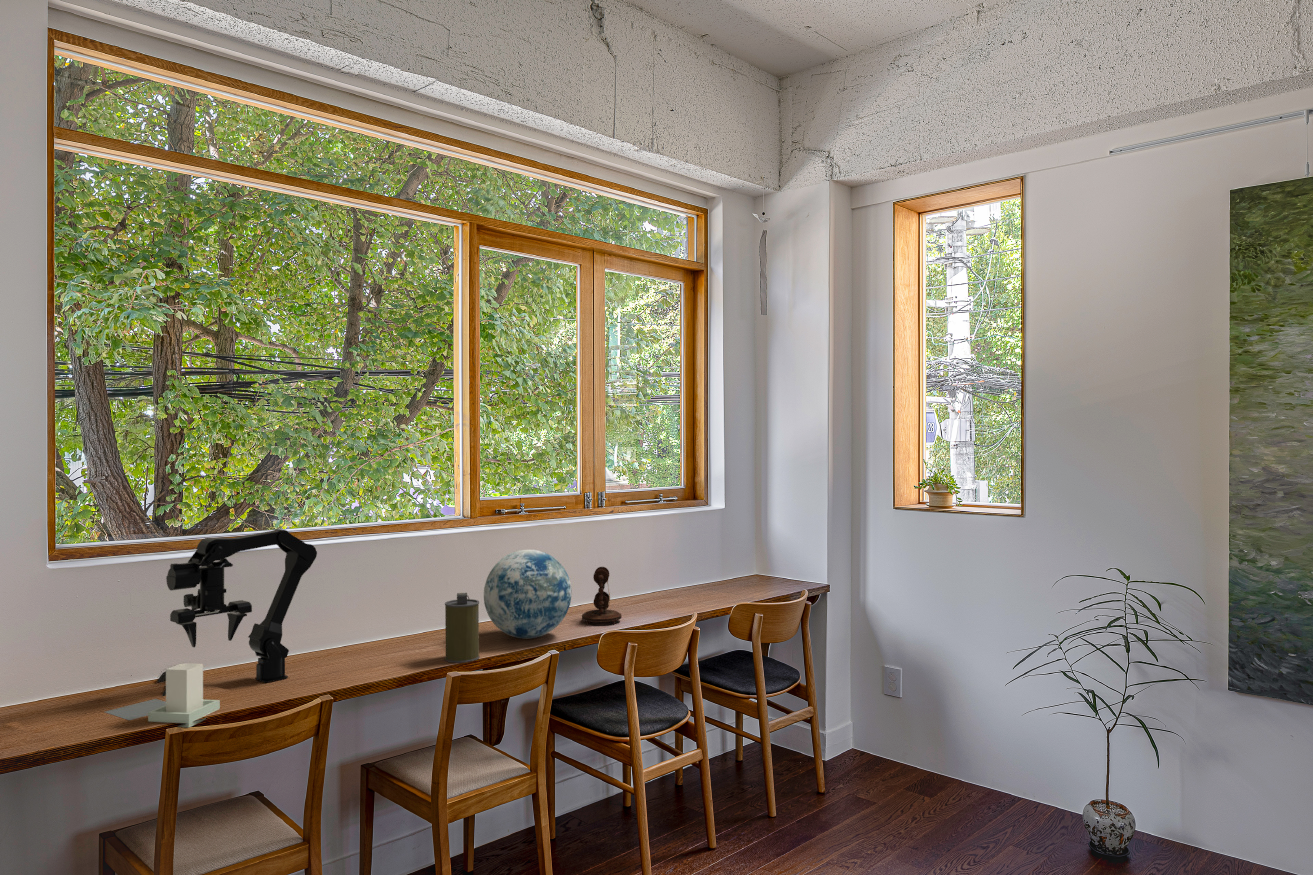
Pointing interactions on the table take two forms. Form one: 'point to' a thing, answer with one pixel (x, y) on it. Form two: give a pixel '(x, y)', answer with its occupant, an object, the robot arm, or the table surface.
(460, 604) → the canister
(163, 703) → the coaster
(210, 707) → the tray
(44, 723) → the table surface
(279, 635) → the robot arm
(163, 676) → the hairbrush
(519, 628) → the globe
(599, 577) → the dark pedestal ornament
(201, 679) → the white block
